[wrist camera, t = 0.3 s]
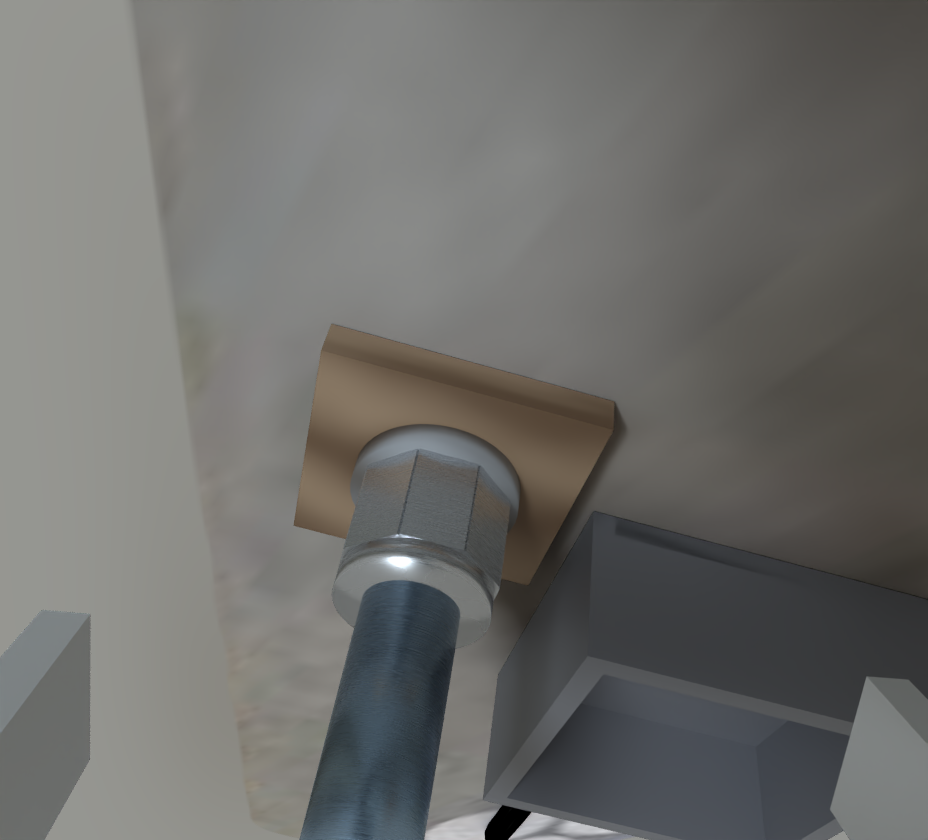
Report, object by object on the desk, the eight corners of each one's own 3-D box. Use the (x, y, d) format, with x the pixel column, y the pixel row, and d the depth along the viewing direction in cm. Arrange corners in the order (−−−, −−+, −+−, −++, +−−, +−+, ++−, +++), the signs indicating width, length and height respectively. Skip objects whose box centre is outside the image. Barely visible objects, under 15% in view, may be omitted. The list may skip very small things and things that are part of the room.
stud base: (331, 323, 32) (284, 443, 28) (614, 401, 33) (611, 529, 28) (302, 499, 40) (262, 614, 35) (530, 559, 40) (518, 677, 36)
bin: (593, 511, 37) (587, 656, 33) (933, 601, 39) (976, 753, 34) (497, 675, 49) (482, 800, 44) (762, 740, 50) (775, 869, 45)
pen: (556, 764, 57) (554, 789, 56) (501, 830, 67) (499, 853, 66) (533, 758, 57) (531, 783, 56) (482, 826, 67) (479, 848, 66)
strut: (374, 436, 32) (193, 1058, 19) (523, 475, 33) (447, 1110, 19) (352, 524, 36) (191, 1084, 23) (485, 558, 37) (401, 1127, 24)
